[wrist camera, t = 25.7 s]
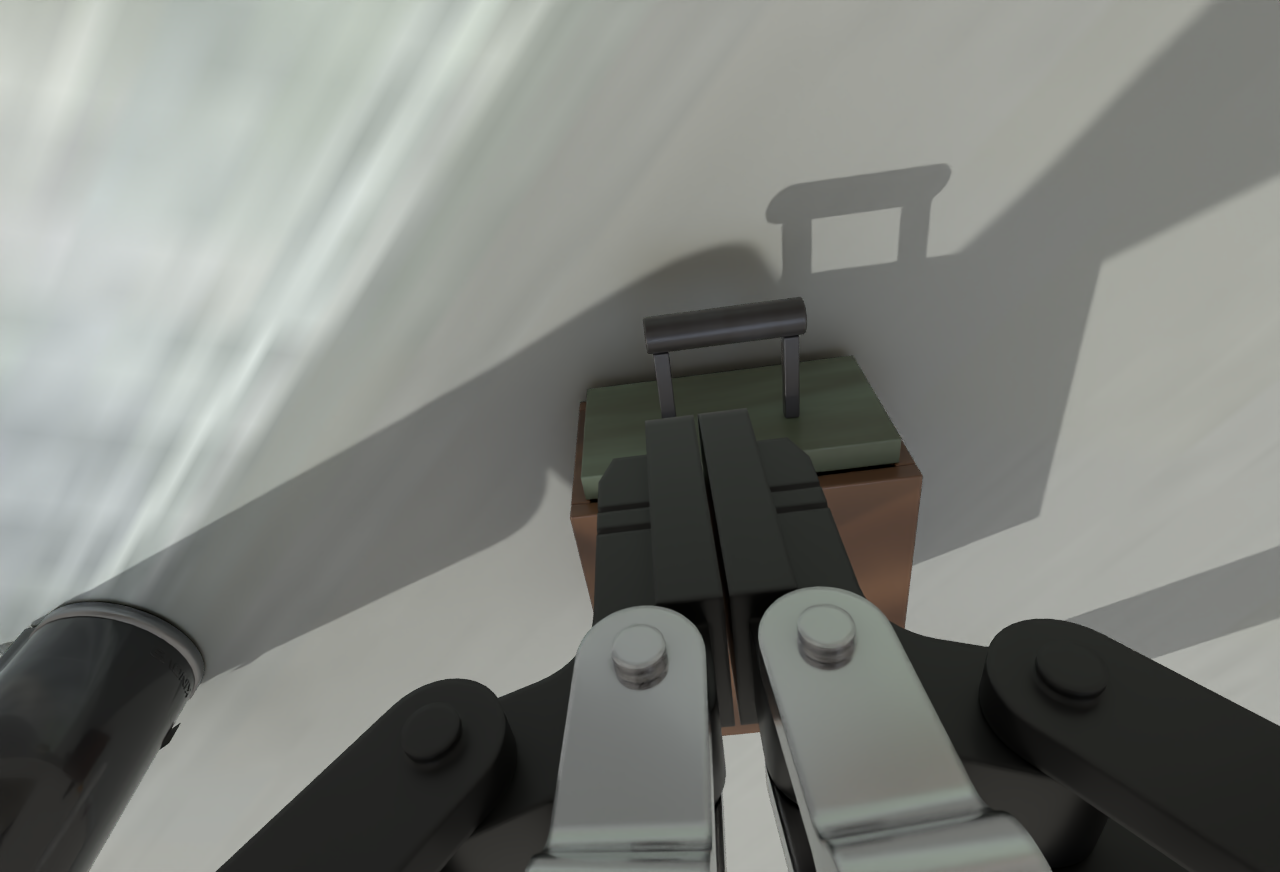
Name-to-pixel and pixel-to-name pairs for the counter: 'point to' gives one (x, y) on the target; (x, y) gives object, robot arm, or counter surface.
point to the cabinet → (864, 515)
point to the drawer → (744, 394)
